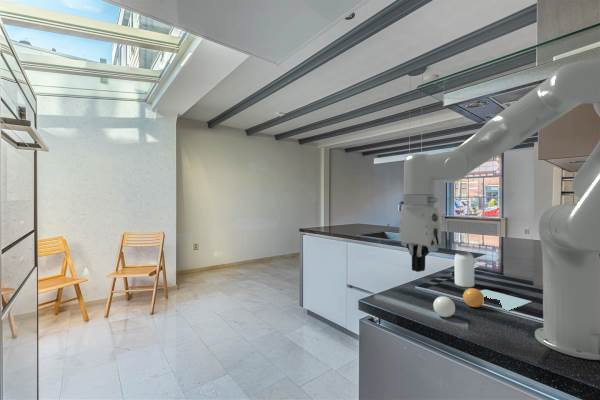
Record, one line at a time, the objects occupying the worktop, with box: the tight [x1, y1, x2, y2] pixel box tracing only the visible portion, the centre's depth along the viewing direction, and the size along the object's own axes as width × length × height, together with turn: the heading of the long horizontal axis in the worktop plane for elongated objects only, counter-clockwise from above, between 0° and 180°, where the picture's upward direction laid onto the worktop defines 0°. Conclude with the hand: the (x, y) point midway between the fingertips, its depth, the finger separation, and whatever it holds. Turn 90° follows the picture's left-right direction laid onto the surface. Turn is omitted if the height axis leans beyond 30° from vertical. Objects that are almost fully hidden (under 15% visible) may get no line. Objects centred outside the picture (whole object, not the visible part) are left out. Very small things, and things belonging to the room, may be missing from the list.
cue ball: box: [432, 295, 456, 318], centre depth 80 cm, size 6×6×6 cm
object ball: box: [462, 287, 484, 308], centre depth 87 cm, size 6×6×6 cm
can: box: [453, 251, 475, 289], centre depth 108 cm, size 6×6×12 cm
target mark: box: [479, 289, 533, 312], centre depth 92 cm, size 14×14×1 cm
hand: (418, 270), depth 76 cm, fingers closed
